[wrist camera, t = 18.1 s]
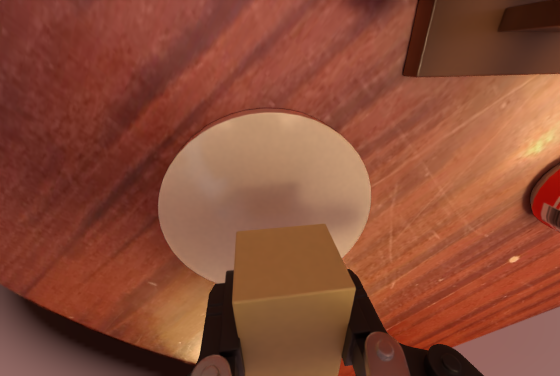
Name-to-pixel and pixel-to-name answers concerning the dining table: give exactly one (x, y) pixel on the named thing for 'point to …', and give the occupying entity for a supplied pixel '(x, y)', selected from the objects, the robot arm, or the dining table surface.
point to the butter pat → (291, 301)
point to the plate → (260, 186)
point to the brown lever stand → (484, 38)
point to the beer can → (547, 199)
